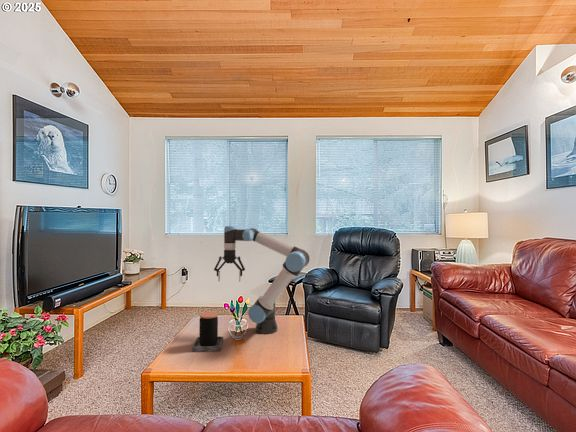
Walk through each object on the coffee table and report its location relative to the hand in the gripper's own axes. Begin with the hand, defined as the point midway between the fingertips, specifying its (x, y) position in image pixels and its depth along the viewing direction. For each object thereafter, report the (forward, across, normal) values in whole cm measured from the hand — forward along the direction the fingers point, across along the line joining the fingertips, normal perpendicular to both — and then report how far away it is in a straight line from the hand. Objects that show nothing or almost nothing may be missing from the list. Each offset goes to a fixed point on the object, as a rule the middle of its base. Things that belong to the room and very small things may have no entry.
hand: (229, 281), depth 223 cm
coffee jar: (+34, +10, +21) cm, 41 cm away
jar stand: (+35, +10, +21) cm, 42 cm away
